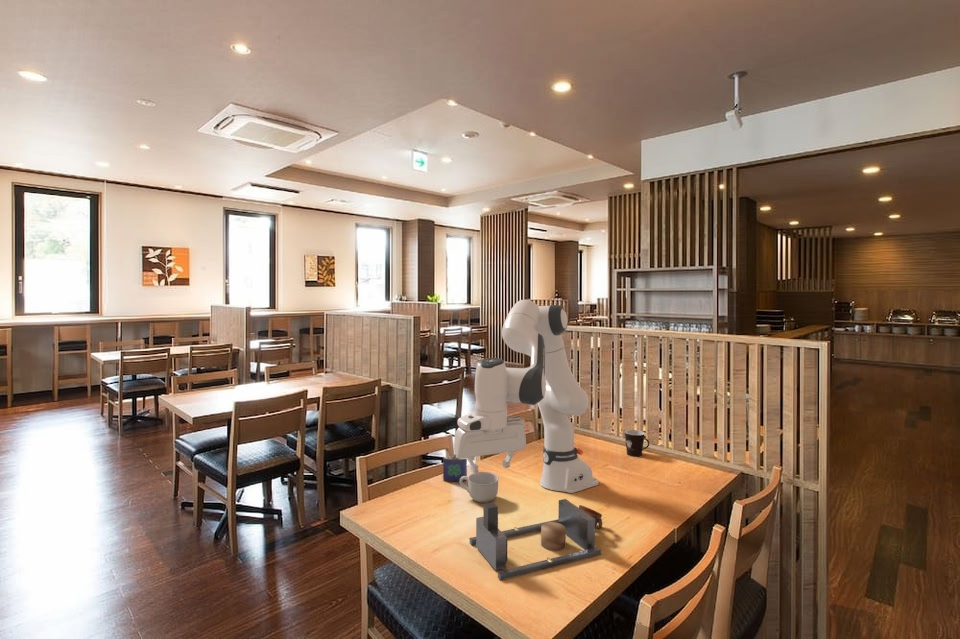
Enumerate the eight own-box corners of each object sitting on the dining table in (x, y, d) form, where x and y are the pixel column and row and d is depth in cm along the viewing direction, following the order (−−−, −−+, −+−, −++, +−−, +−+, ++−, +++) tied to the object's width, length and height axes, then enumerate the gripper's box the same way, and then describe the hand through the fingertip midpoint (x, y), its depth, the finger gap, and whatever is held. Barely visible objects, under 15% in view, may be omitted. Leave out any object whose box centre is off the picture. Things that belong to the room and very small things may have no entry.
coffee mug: (621, 451, 228) (621, 430, 227) (639, 450, 229) (639, 429, 228) (631, 460, 216) (632, 437, 216) (650, 459, 217) (651, 436, 217)
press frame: (560, 523, 157) (560, 495, 157) (601, 555, 138) (601, 523, 137) (469, 542, 145) (469, 512, 144) (500, 581, 126) (500, 546, 125)
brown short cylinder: (557, 536, 149) (557, 520, 148) (570, 547, 142) (570, 530, 142) (536, 541, 146) (536, 524, 145) (549, 552, 139) (549, 535, 139)
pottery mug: (563, 527, 156) (572, 501, 158) (589, 538, 157) (597, 513, 159) (579, 535, 144) (588, 507, 147) (607, 547, 145) (616, 519, 148)
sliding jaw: (487, 544, 143) (487, 495, 142) (508, 567, 131) (508, 513, 130) (476, 547, 141) (476, 497, 141) (495, 570, 129) (495, 516, 129)
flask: (467, 479, 194) (467, 452, 193) (466, 482, 191) (466, 455, 190) (443, 479, 194) (443, 452, 194) (442, 482, 191) (442, 454, 191)
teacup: (503, 496, 178) (503, 474, 178) (490, 508, 168) (491, 484, 168) (468, 489, 184) (468, 468, 183) (454, 500, 174) (454, 478, 174)
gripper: (519, 412, 141) (519, 460, 142) (451, 420, 133) (451, 470, 134) (530, 418, 135) (530, 467, 136) (460, 425, 127) (460, 478, 128)
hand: (490, 469), depth 135 cm, fingers open, 8 cm apart
